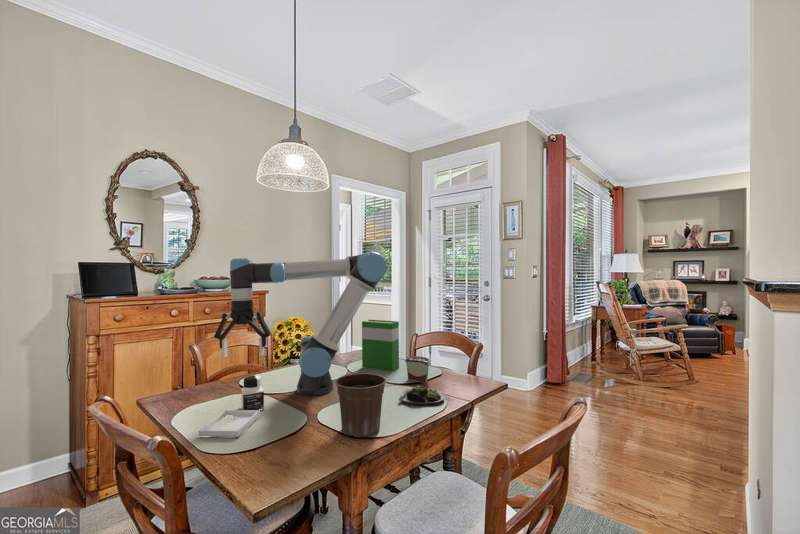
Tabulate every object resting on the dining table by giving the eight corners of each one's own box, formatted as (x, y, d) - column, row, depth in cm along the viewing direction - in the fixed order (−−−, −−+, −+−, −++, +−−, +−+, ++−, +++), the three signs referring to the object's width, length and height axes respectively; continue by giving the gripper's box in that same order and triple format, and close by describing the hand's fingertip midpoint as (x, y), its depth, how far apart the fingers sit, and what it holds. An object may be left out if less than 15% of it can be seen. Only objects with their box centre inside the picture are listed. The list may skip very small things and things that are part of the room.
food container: (435, 379, 173) (434, 358, 173) (428, 383, 168) (428, 361, 168) (412, 375, 180) (411, 355, 180) (405, 379, 175) (405, 357, 175)
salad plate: (397, 390, 160) (397, 379, 160) (439, 389, 161) (439, 378, 161) (398, 407, 141) (398, 395, 141) (446, 406, 141) (446, 394, 141)
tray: (260, 416, 133) (260, 410, 133) (238, 438, 116) (238, 431, 116) (225, 416, 133) (225, 410, 133) (198, 438, 116) (198, 430, 116)
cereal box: (362, 367, 195) (361, 321, 195) (369, 364, 202) (369, 319, 202) (392, 371, 187) (392, 323, 187) (399, 367, 194) (398, 321, 194)
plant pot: (371, 415, 133) (371, 370, 133) (396, 432, 119) (395, 381, 119) (328, 426, 124) (327, 377, 124) (348, 446, 110) (348, 391, 110)
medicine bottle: (243, 413, 135) (242, 380, 135) (241, 407, 142) (241, 375, 141) (264, 410, 138) (263, 377, 138) (261, 403, 145) (261, 372, 145)
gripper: (278, 297, 145) (279, 352, 145) (212, 299, 144) (214, 354, 144) (272, 299, 138) (274, 357, 138) (203, 301, 137) (204, 359, 137)
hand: (243, 356), depth 141 cm, fingers open, 13 cm apart
